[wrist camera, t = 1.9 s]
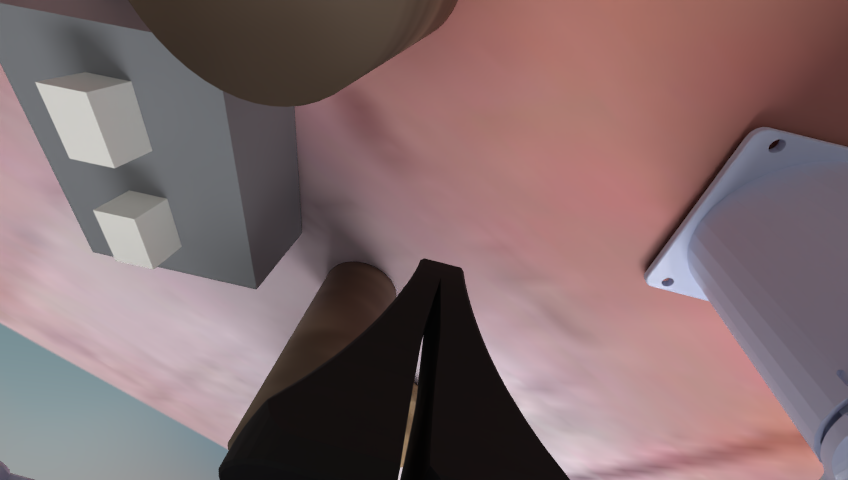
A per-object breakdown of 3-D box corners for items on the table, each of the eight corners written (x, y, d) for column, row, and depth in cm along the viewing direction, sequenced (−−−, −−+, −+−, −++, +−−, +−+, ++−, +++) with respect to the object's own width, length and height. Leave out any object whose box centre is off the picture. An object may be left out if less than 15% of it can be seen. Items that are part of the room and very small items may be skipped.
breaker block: (292, 30, 15) (176, 52, 9) (303, 230, 21) (236, 314, 15) (109, -5, 15) (-103, -3, 10) (171, 201, 21) (59, 273, 16)
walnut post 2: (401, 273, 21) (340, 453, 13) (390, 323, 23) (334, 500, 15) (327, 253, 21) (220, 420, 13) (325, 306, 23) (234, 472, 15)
